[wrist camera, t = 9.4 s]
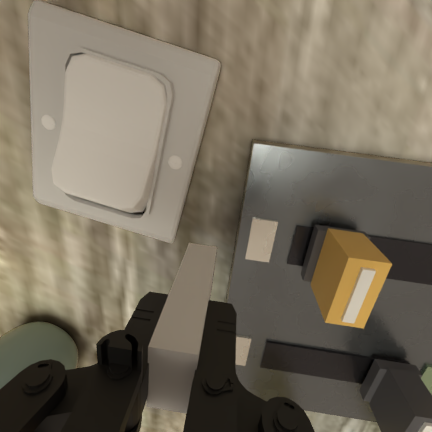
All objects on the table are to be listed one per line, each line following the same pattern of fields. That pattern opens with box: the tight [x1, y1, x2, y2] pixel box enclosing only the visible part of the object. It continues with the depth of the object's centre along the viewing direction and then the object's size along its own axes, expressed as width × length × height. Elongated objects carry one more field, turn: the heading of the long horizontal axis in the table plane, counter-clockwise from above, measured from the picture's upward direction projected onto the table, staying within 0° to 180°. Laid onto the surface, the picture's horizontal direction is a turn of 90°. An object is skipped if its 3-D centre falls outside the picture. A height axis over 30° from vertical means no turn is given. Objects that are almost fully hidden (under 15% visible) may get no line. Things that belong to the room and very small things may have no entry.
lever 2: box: [359, 359, 432, 432], centre depth 18 cm, size 4×3×4 cm
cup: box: [0, 322, 78, 389], centre depth 21 cm, size 8×8×10 cm
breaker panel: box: [226, 139, 432, 422], centre depth 20 cm, size 22×18×2 cm
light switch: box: [28, 0, 221, 243], centre depth 17 cm, size 11×4×13 cm
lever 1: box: [301, 225, 392, 329], centre depth 15 cm, size 4×3×4 cm
